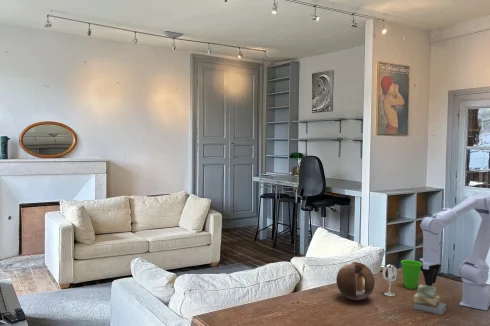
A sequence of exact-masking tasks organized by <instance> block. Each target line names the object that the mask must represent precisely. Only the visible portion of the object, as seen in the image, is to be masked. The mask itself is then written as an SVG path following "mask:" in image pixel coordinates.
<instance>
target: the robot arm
mask: <svg viewBox="0 0 490 326" xmlns="http://www.w3.org/2000/svg"><path fill="white" fill-rule="evenodd" d="M471 210H474V211H476V213H478V215H479V216H480V218H481V222H480V224H479V227H478V230H477V233H476V236H475V240H474V242H473V245H472V249H471V252H470V255H469V256H467V257H466V258H464V259H463V261H462V263H461V264H460V266H459V268H458V270H457V271H458V272H457V273H458V275H459V276H460V278H461V281H462V292H461V293H462V295H461V296H462V297H461V299H462V300H461V301H460V303H459V306H462V307H467V308H472V309H477V310H481V311H482V310H483V311H488V309H489V307H490V285H489V284H486V283H487V282H488V280H489V270H490V267H489V265H488V263H487V262H486V260H487V256H488V253H489V250H490V194H486V193H479V192H475V193H473V194H470V195H469V196H468V197H467V198H466V199H465V200H463V201H461V202H460V203H458V204H457V205H455V206H454V207H451V208H450V207H443V208H441V211H439V212H437V213H433V214H432V216H426V217H424V218H423V219H422V220H421V222H420V224H419V227H420V229H421V230H422V237H423V239H422V242H423V243H422V258H421V257H420V258H419V262H421V263H422V264H423V265H422V266H420V269H421V271H420V272H422V275H423V278H424V283H425V284H424V285H427V286H432V287H433V284H436V280H437V277H438V274H439V270H440V269H441V267H442V265H441V263H440V239H441V238H440V237H441V236H440V234H441V233H442V232H443V230H444V229H445V228H446V227H447V226H448V225H451V224H452V223H455V222H456V221H457V219H458V217H459V216H461V215H463V214H466V213H467V212H469V211H471Z"/></svg>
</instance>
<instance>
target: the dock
mask: <svg viewBox="0 0 490 326" xmlns="http://www.w3.org/2000/svg"><path fill="white" fill-rule="evenodd" d="M447 309H448V304H447V303H446V302H440V301H439V302H438V303H437V304H436V305H431V304H426V303H421V302H416V301H414V302H413V310H417V311H422V312H426V313H427V312H428V313H431V314H436V315H440V316H443V314H444V313H445V312H446V311H447Z"/></svg>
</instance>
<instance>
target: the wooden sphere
mask: <svg viewBox="0 0 490 326" xmlns="http://www.w3.org/2000/svg"><path fill="white" fill-rule="evenodd" d="M335 280H336V281H335V282H336V286H337V288H338V290H339V292H340V293H341V294H342V295H343V296H344V297H345V298H346V299H348V300H351V301H362V300H365V299H366V298H368V297H370V295H371V294H372V293H373V291H374V289H375V277H374V273H373V272H372V270H371V269H370V268H369V267H368V266H367V265H365V264H364V263H361V262H357V261H352V262H351V261H350V262H348V263H346V264H343V265H342V266H341V267H340V268H339V270H338V271H337V274H336V279H335Z"/></svg>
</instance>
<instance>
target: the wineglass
mask: <svg viewBox="0 0 490 326" xmlns="http://www.w3.org/2000/svg"><path fill="white" fill-rule="evenodd" d="M397 277H398V270H397V266H396V265H394V264H385V265H384V266H383V268H382V278H383V279H384V280H386V281H387V282H388V292H384V293H383V295H385V296H387V297H395V296H396V294H395V293H393V292H391V286H392V283H391V282H394V281H396V280H397Z"/></svg>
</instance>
